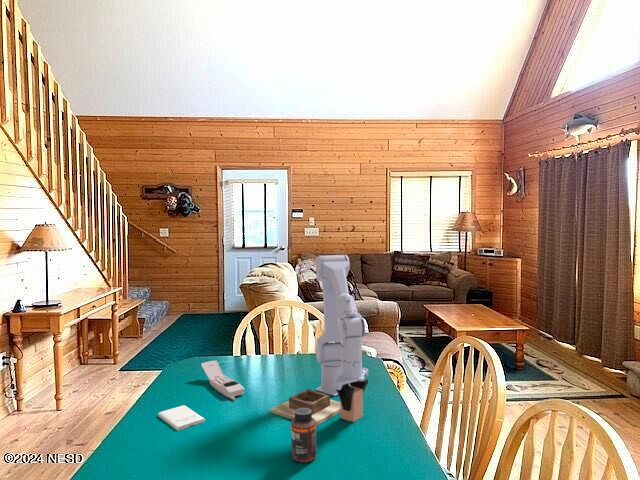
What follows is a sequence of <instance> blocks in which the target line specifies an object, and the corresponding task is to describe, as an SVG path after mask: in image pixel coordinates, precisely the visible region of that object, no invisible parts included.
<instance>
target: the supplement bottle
mask: <svg viewBox="0 0 640 480" xmlns="http://www.w3.org/2000/svg"><path fill="white" fill-rule="evenodd" d="M290 433H291V437H290V438H291V439H290V440H291V457H292V459H293V460H294V461H296V462H298V463H309V462H312V461H314V460H315V459H316V457H317V451H318V450H317V426H316V421H315V419H314V418H312V411H311V409H309V408H299V409H297V410H295V418H294V419H293V420H291V422H290Z"/></svg>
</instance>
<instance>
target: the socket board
mask: <svg viewBox="0 0 640 480" xmlns="http://www.w3.org/2000/svg"><path fill="white" fill-rule="evenodd" d="M299 408H309V409H311V411H312V418H314V419H315V421H316V427H317V426H319V425H320V424H322V423H324V422H326V421H328V420H329V419H331V418H332V417H334V416H336V415H338V414H341V401H337V400H334V399H331V395H330V394H326V393H323V392H320V391H316V390H313V389H309V388H307V389H305V390H302V391H300V392H298V393H296V394H294V395H292V396H290V397H288V400H287V401H284V402H282V403H280V404H279V405H276V406H274V407H272V408H270V413H272V414H275V415H278V416H281V417H283V418H287V419H289V420H291V421H292V420H293V419H294V418H295V410H297V409H299Z"/></svg>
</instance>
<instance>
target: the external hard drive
mask: <svg viewBox="0 0 640 480" xmlns="http://www.w3.org/2000/svg"><path fill="white" fill-rule="evenodd" d="M157 414H158V418H159V419H162V420H163V421H164V422H165V423H167V425H169V426H171V427H172V428H173V429H175V430H176V431H178V432H179V431H180V430H184V429H187V428H190V427H192V426H196V425H199V424H202V422H203V423H205V422H206V418H204V417H203V416H201V415H200V414H198V413H197V412H195V411H194V410H192V409H191V408H189V407H188V406H186V405H185V404H184V405H180V406H177V407H173V408H169V409H166V410H163V411H159V412H158V413H157Z"/></svg>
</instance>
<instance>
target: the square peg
mask: <svg viewBox="0 0 640 480" xmlns="http://www.w3.org/2000/svg"><path fill="white" fill-rule="evenodd" d="M349 386H350V387H352V388H355V390H354V392H353V395H352V400H351V409H350V411H346V410H343V407H342V404H341V412H340V419H343V420H346V421H349V422H353V423H355V422H357V421H358V420H359V419H361V418H363V416H364V408H363V407H364V406H363V405H364V401H363V399H364V396H363V395H364V392H363V389H361V388H358V387H354V386H351V385H350V384H349Z"/></svg>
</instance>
